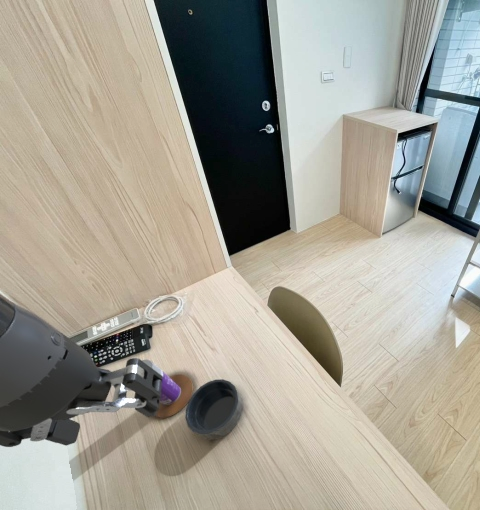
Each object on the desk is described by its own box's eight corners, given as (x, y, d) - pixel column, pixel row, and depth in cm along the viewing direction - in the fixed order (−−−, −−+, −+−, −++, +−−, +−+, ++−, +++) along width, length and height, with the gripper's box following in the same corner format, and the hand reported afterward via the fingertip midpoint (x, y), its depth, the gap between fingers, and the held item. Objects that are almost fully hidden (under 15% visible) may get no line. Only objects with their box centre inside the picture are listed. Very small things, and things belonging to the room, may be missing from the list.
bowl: (193, 448, 59) (184, 442, 56) (194, 397, 67) (186, 388, 63) (245, 428, 62) (240, 421, 58) (241, 381, 70) (235, 372, 66)
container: (185, 391, 68) (158, 366, 57) (168, 409, 65) (136, 385, 54) (173, 381, 69) (144, 354, 59) (156, 398, 66) (123, 373, 56)
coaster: (146, 424, 63) (145, 424, 62) (152, 382, 69) (151, 382, 69) (192, 408, 65) (192, 408, 65) (193, 369, 72) (193, 368, 72)
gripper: (-158, 453, 18) (33, 483, 29) (93, 379, 21) (176, 431, 33) (-79, 351, 23) (58, 411, 34) (114, 305, 26) (180, 373, 38)
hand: (116, 421), depth 33 cm, fingers open, 8 cm apart
